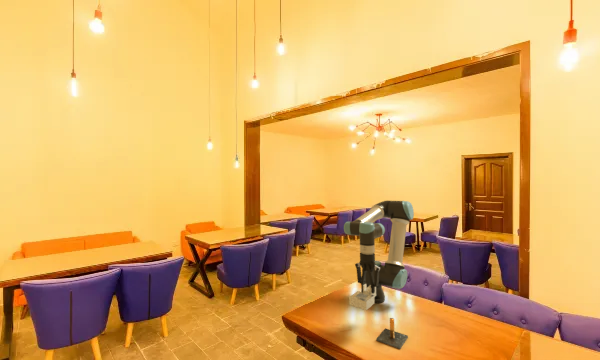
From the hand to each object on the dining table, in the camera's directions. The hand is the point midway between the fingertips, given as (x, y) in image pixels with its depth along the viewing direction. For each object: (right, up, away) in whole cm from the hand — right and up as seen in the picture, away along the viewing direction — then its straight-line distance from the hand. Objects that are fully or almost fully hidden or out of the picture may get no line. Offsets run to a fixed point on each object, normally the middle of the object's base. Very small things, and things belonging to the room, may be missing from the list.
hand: (368, 298), depth 139 cm
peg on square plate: (+8, -14, -12) cm, 20 cm away
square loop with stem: (-2, -1, -2) cm, 3 cm away
